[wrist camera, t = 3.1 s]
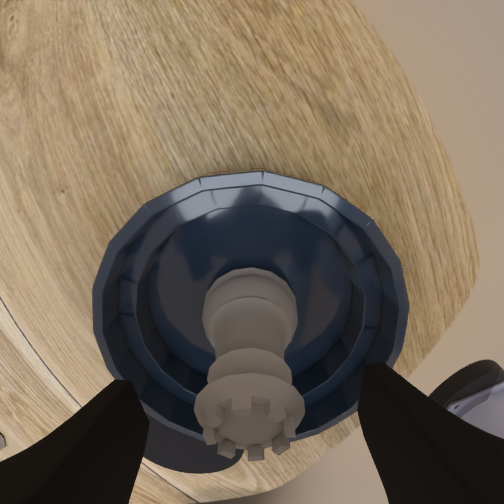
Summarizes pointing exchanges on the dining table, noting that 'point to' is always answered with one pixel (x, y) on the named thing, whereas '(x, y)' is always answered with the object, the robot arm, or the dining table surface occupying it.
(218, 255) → the bowl
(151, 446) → the coaster
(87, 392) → the dining table surface
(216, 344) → the rook chess piece
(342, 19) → the dining table surface
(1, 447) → the flask
